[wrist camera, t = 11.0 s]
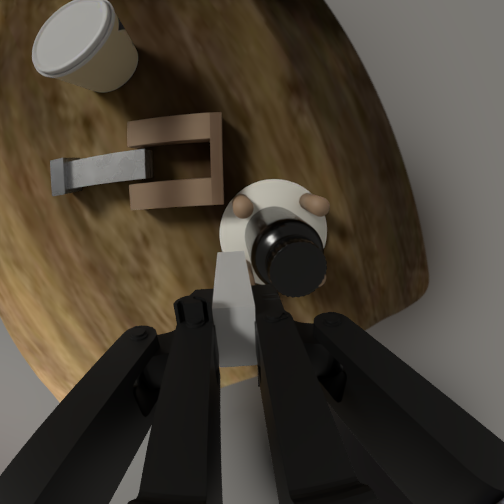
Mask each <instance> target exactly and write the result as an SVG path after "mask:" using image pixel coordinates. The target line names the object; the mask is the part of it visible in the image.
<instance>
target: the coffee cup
mask: <svg viewBox="0 0 504 504" xmlns="http://www.w3.org/2000/svg"><path fill="white" fill-rule="evenodd" d="M32 60H33V63H34V66H35V68H36V70H37V71H38V72H39V73H40V74H41V75H43V76H46V77H50V78H56V79H59V80H62V81H65V82H68V83H71V84H74V85H77V86H80V87H83V88H86V89H89V90H92V91H96V92H101V93H104V92H110V91H113V90H116V89H117V88H119V87H121V86H122V85H124V84H125V83H126V82H127V81H128V80H129V79H130V77H131V76H132V75H133V73H134V71H135V69H136V67H137V64H138V53H137V50H136V48H135V46H134V44H133V42H132V41H131V39H130V37H129V35H128V34H127V32H126V30H125V28H124V27H123V25H122V23H121V22H120V20H119V18H118V17H117V15H116V14H115V11H114V8H113V6H112V5H111V3H110V2H108V1H107V0H73V1H71V2H69V3H67V4H66V5H64V6H63V7H61V8H60V9H59V10H57V11H56V12H55V13H54V14H53V15H52V16H51V17H50V18H49V19H48V20H47V21H46V22H45V24H44V25H43V26H42V28H41V30H40V31H39V33H38V35H37V37H36V39H35V42H34V45H33V49H32Z"/></svg>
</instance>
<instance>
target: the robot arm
mask: <svg viewBox="0 0 504 504" xmlns="http://www.w3.org/2000/svg"><path fill="white" fill-rule="evenodd" d="M173 305H174V310H175V316H176V321H177V326H176V330H174V331H172V332H169V333H165V334H160V335H157V333H156V330H155V329H154V328H153V327H149V326H135V327H133V328H131V329H128V330H127V331H126V332H124V333H123V334H122V335H121V337H120V338H119V339H118V340H117V341H116V342H115V343H114V344H113V345H112V346H111V347H110V348H109V349H108V350H107V351H106V353H105V354H104V355H103V356H102V357H101V358H100V359H99V360H98V361H97V362H96V363H95V364H94V366H93V367H92V368H91V369H90V370H89V371H88V372H87V373H86V374H85V375H84V377H83V378H82V379H81V380H80V381H79V382H78V383H77V384H76V385H75V387H74V388H73V389H72V390H71V391H70V392H69V393H68V394H67V396H66V397H65V398H64V399H63V400H62V401H61V402H60V404H59V405H58V406H57V407H56V408H55V410H54V411H53V412H52V413H51V414H50V415H49V416H48V418H47V419H46V420H45V421H44V422H43V423H42V425H41V426H40V427H39V428H38V429H37V431H36V432H35V433H34V434H33V435H32V437H31V438H30V439H29V440H28V441H27V443H26V444H25V445H24V446H23V448H22V449H21V450H20V451H19V453H18V454H17V455H16V456H15V458H14V459H13V460H12V461H11V463H10V464H9V465H8V466H7V468H6V469H5V471H4V472H3V473H2V474H1V476H0V504H109V502H110V501H111V499H112V497H113V495H114V493H115V491H116V490H117V488H118V486H119V484H120V482H121V480H122V478H123V477H124V475H125V473H126V471H127V469H128V467H129V466H130V464H131V462H132V460H133V458H134V456H135V454H136V453H137V451H138V449H139V447H140V445H141V444H142V442H143V440H144V438H145V436H146V434H147V433H148V431H149V429H150V427H151V425H152V427H151V432H150V437H149V441H148V446H147V451H146V457H145V462H144V467H143V473H142V478H141V484H140V490H139V494H138V496H137V498H136V499H134V500H131V501H129V502H128V504H223V503H222V502H223V501H222V477H221V475H222V474H221V431H220V430H221V428H220V371H219V366H220V367H235V366H249V365H257V364H258V386H259V387H260V390H261V396H262V403H263V409H264V415H265V422H266V427H267V434H268V440H269V446H270V452H271V459H272V465H273V470H274V476H275V482H276V488H277V494H278V500H279V504H379V502H378V499H377V497H376V495H375V494H374V492H373V490H372V489H371V488H370V487H369V486H368V485H365V484H362V483H360V482H359V481H358V479H357V477H356V475H355V473H354V470H353V467H352V465H351V462H350V459H349V457H348V454H347V452H346V449H345V447H344V444H343V441H342V439H341V436H340V434H339V431H338V429H337V427H336V424H335V421H334V419H333V416H332V414H331V411H330V409H329V406H328V404H329V405H330V406H331V407H332V409H333V410H334V411H335V412H336V414H337V415H338V416H339V417H340V418H341V420H342V421H343V422H344V423H345V424H346V426H347V427H348V428H349V430H350V431H351V432H352V433H353V434H354V436H355V437H356V438H357V439H358V440H359V442H360V443H361V444H362V445H363V446H364V448H365V449H366V450H367V451H368V452H369V454H371V456H372V457H373V458H374V460H375V461H376V462H377V463H378V464H379V465H380V466H381V468H382V469H383V470H384V471H385V472H386V474H387V475H388V476H389V477H390V478H391V479H392V480H393V482H394V483H395V484H396V485H397V486H398V487H399V488H400V490H401V491H402V492H403V493H404V494H405V495H406V496H407V497H408V499H409V500H410V501H411V502H412V503H413V504H504V442H503V441H502V440H501V439H499V438H498V437H497V436H496V435H494V434H493V433H492V432H491V431H490V430H488V429H487V428H486V427H484V426H483V425H482V424H481V423H480V422H478V421H477V420H476V419H475V418H474V417H472V416H471V415H470V414H469V413H467V412H466V411H465V410H464V409H462V408H461V407H460V406H458V405H457V404H456V403H455V402H453V401H452V400H451V399H450V398H449V397H447V396H446V395H445V394H444V393H442V392H441V391H440V390H439V389H437V388H436V387H435V386H434V385H432V384H431V383H430V382H429V381H427V380H426V379H425V378H424V377H422V376H421V375H420V374H419V373H417V372H416V371H415V370H413V369H412V368H411V367H410V366H409V365H407V364H406V363H405V362H403V361H402V360H401V359H400V358H398V357H397V356H396V355H395V354H393V353H392V352H391V351H389V350H388V349H387V348H386V347H384V346H383V345H382V344H381V343H379V342H378V341H377V340H375V339H374V338H373V337H372V336H370V335H369V334H368V333H367V332H365V331H364V330H363V329H362V328H360V327H359V326H358V325H357V324H355V323H354V322H353V321H351V320H350V319H349V318H348V317H346V316H344V315H342V314H339V313H336V312H327V313H322V314H320V315H317V316H316V317H315V318H314V324H311V323H301V322H297V321H294V320H293V318H292V316H291V314H290V313H288V312H286V311H285V310H284V308H283V305H282V303H281V300H280V297H279V295H278V292H277V290H276V288H275V287H273V286H272V285H270V284H265V285H251V284H250V279H249V274H248V268H247V263H246V258H245V253H244V251H234V252H218V254H217V263H216V273H215V282H214V289H201V290H195V291H194V292H193V293H192V294H191V295H190V296H185V297H182V298H180V299H178V300H176V301H175V303H174V304H173ZM327 402H328V404H327Z"/></svg>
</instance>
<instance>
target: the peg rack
mask: <svg viewBox="0 0 504 504" xmlns="http://www.w3.org/2000/svg"><path fill="white" fill-rule="evenodd" d="M272 206H276V207H282V208H285V209H287V210H289V211H291V212H292V213H294V214H295V215H297V216H298V217H300V218H301V219H302V220H304V221H305V222H307V223H308V224H309V225H311V226H312V227H313V228H314V229H315V230H316V231H317V233H318V234H319V236H320V238H321V240H322V243H323V248H324V247H325V243H326V237H327V224H326V218H325V215H326V214H327V213H328V212H329V209H330V204H329V202H328V200H327V199H325V198H323V197H320V196H317V195H314V194H311V193H310V192H309V191H308V190H306V189H305V188H303V187H302V186H300V185H298V184H296V183H293V182H290V181H286V180H281V179H268V180H262V181H258V182H256V183H253V184H251V185H249V186H247V187H245V188H244V189H242V190H241V191H240V192H239V193H237V194H236V195H235V196H234V197H233V199H232V200H231V201H230V202H229V204H228V206H227V207H226V209H225V211H224V214H223V216H222V220H221V225H220V244H221V248H222V251H223V252H234V251H244V253H245V258H246V263H247V268H248V274H249V279H250V284H251V285H255V283H258V284H262V285H265V283H263V282H262V281H261V280H260V279H259V278H258V276H257V275H256V273H255V272H254V269H253V267H252V264H251V261H250V257H249V254H248V250H247V247H246V242H245V229H246V226H247V223H248V222H249V220H250V218H251V217H252V216H253V215H254V214H255V213H256V212H258V211H259V210H261V209H263V208H266V207H272ZM325 281H326V275H325V278H324V279H323V280H322V283H321V284H320V285H319V287H320V286H322V285H323V284H324V283H325Z"/></svg>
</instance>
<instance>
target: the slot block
mask: <svg viewBox="0 0 504 504" xmlns="http://www.w3.org/2000/svg"><path fill="white" fill-rule="evenodd" d="M197 142H210V156H211V177H210V178H193V179H179V180H166V181H155V182H145V183H137V184H131V185H129V193H130V206H131V210H142V209H154V208H168V207H183V206H201V205H221V204H224V178H223V140H222V113H221V112H212V113H197V114H185V115H174V116H165V117H157V118H149V119H142V120H136V121H130V122H127V147H132V148H137V149H138V148H146V147H154V146H163V145H173V144H184V143H197Z"/></svg>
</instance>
